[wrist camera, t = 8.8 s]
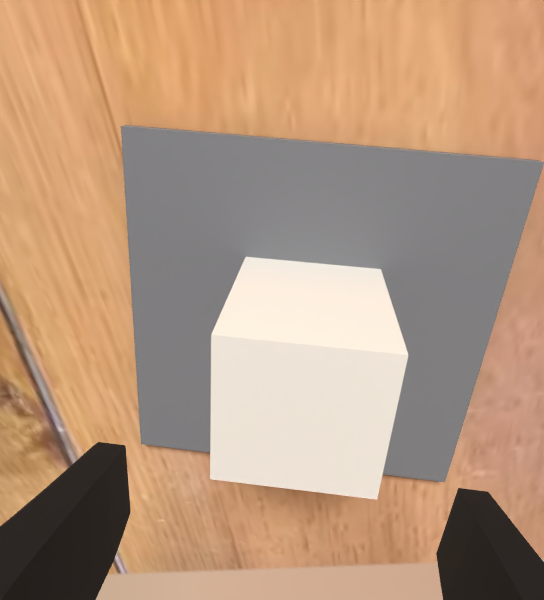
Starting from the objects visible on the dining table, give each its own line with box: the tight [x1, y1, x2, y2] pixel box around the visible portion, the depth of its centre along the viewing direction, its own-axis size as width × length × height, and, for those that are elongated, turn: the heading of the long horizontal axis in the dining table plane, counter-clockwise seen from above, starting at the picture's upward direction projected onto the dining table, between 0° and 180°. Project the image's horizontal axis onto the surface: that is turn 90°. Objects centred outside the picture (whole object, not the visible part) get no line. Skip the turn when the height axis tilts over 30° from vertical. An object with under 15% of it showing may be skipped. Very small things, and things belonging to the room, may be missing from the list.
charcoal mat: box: [121, 125, 544, 482], centre depth 19 cm, size 14×14×1 cm
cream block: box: [210, 257, 408, 499], centre depth 16 cm, size 5×5×6 cm
